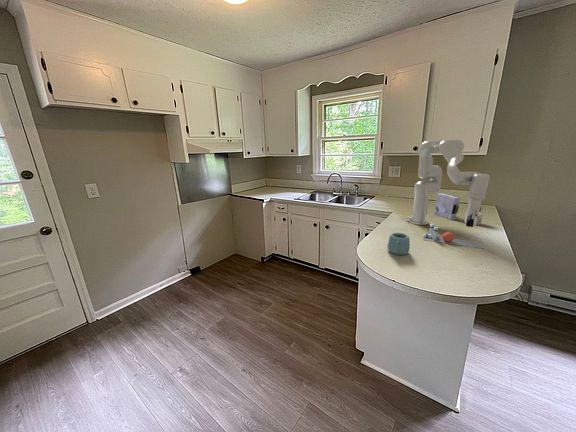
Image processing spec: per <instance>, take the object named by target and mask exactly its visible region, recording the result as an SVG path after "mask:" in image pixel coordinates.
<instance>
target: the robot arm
mask: <svg viewBox="0 0 576 432" xmlns="http://www.w3.org/2000/svg"><path fill="white" fill-rule="evenodd" d="M464 149H465V143H464V142H463V140H461V139H430V140H425V141H424V142H422V143H421V145H420V146H419V149H418V157H419V158H418V159H419V160H418V170H417V176H418V178H419V179H421V181H418V182H416V183H415V184H414V186H413V187H414V189H413V190H414V199H413V208H412V215H410V216H409V215H405V219H407V220H408V221H409V223H411V224H413V225H418V226H425V225H428V224H429V221H428V220H427V216H428V210H429V199H430V198H429V197H428V195H429V194H430V195H431V194H436V193H437V194H438V193H439V191H440V189H441V187H442V180H443V179H442V177H443V169H442V167H441V166H439V165H437V164H436V165H435V164H434V158H433V155H432V154H441V155H442V156H443V158H444V160H445V161H446V163H447V166H446V174H447V176H448V178H449V180H450V181H451V182H452V183H453V184H454V185H456V186H465V185H466V186H469V191H468V195H467V198H468V201H467V204H466V205H467V206H466V209H465V215H466V214H467V216H468V219H467V223H465V226H466V227H468V228H473V227H474V226H475V225H474V220H475V216H476V217H477V216H478V214H479V210H480V207H481V205H482V201H484V200H485V198H486V195H487V194H486V193H487V191H488V185H489V183H490V178H491V177H490V175H489V174H487V173H480V172H477V171H460V169H459V168H458V165H459V164H460V163H461V162H462V161H463V160H464V154H462V152H463V151H464ZM433 164H434V165H433Z"/></svg>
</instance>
